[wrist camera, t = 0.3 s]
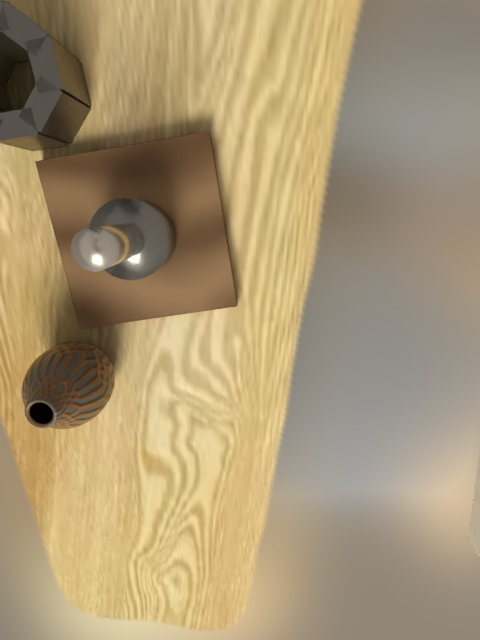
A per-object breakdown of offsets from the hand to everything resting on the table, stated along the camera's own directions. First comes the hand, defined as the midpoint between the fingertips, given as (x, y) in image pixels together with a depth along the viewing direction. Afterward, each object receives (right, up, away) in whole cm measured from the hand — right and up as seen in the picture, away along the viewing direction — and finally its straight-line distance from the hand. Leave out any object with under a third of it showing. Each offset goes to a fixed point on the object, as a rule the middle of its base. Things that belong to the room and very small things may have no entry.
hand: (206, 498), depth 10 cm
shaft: (-7, +11, +23) cm, 27 cm away
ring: (-15, +22, +22) cm, 35 cm away
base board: (-7, +12, +25) cm, 28 cm away
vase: (-14, 0, +28) cm, 31 cm away
